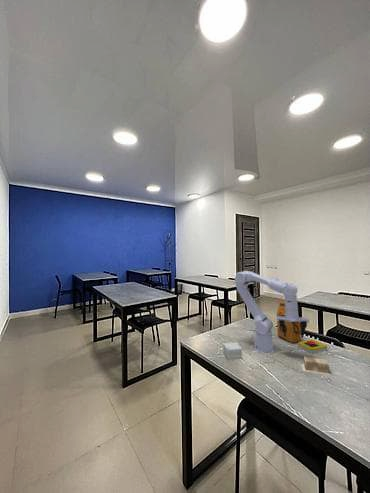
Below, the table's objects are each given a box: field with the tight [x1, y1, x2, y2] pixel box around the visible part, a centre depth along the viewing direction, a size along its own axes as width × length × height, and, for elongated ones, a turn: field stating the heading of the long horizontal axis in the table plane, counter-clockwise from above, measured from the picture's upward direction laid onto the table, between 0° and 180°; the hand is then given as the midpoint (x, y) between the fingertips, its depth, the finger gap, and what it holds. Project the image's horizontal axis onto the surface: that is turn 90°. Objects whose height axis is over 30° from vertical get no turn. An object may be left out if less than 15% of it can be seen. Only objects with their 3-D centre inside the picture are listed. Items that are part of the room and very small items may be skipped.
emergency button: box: [295, 339, 331, 355], centre depth 114 cm, size 9×4×15 cm
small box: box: [222, 341, 243, 360], centre depth 111 cm, size 8×8×5 cm
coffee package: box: [276, 300, 302, 344], centre depth 128 cm, size 10×12×22 cm
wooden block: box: [303, 356, 330, 374], centre depth 95 cm, size 4×4×9 cm
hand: (293, 336), depth 107 cm, fingers open, 7 cm apart
